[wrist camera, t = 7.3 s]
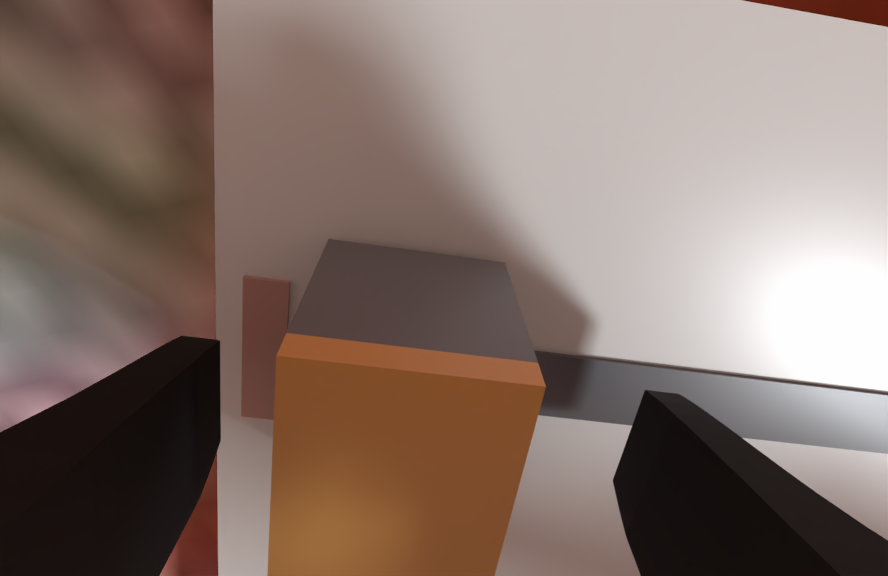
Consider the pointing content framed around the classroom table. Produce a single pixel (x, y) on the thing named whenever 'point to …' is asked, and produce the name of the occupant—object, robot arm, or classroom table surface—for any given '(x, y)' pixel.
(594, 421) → the breaker panel
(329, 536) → the lever
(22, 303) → the classroom table surface
